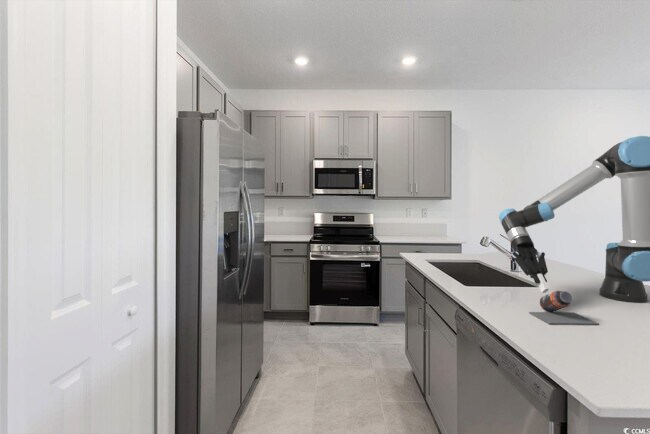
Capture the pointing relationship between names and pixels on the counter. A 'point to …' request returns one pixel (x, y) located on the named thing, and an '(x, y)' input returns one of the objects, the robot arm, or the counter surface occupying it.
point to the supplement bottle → (555, 301)
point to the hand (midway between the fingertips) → (545, 290)
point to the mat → (563, 318)
